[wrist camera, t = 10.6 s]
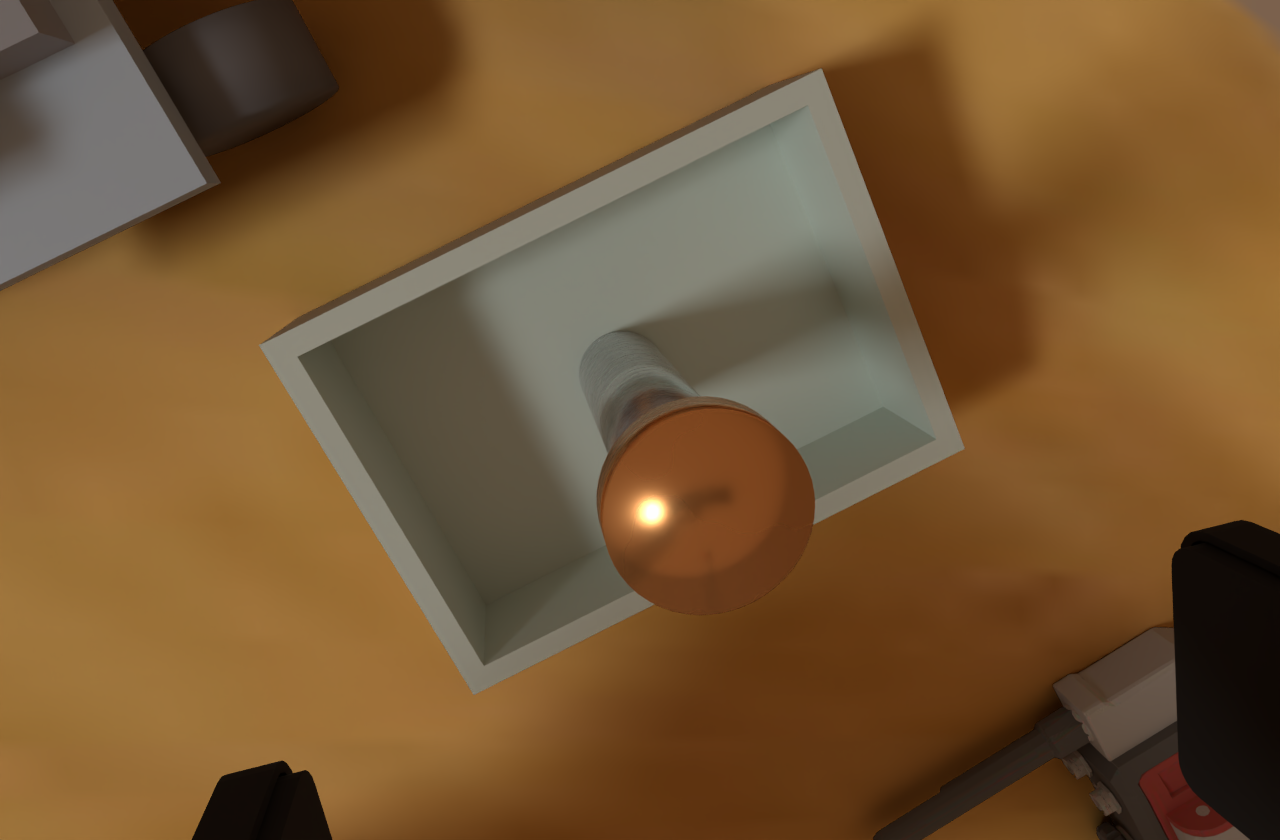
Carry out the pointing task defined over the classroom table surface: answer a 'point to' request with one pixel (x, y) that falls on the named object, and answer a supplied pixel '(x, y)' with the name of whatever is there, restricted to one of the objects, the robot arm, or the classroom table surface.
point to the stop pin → (691, 484)
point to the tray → (577, 316)
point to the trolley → (132, 115)
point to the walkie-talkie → (1098, 753)
